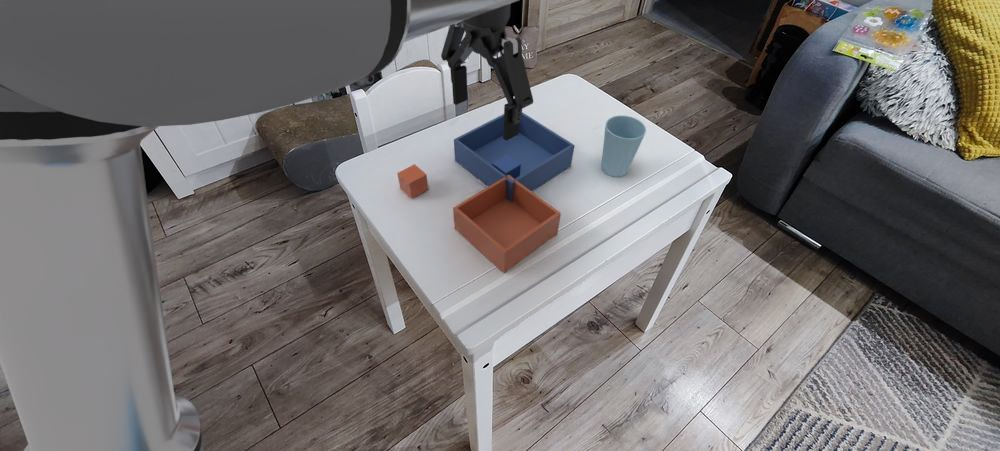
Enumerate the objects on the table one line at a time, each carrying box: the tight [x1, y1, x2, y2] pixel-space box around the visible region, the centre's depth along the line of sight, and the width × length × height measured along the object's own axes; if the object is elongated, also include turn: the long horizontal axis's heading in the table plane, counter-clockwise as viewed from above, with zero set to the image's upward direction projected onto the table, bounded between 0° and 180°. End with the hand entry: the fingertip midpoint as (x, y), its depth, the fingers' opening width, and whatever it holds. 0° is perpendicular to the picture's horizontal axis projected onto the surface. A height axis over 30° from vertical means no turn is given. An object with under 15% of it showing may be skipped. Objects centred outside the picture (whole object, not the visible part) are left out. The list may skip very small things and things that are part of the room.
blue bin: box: [453, 111, 575, 202], centre depth 93 cm, size 17×17×6 cm
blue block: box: [492, 155, 521, 179], centre depth 90 cm, size 4×4×4 cm
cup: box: [600, 115, 647, 178], centre depth 91 cm, size 8×8×10 cm
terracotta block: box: [396, 163, 429, 200], centre depth 88 cm, size 4×4×4 cm
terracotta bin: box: [452, 175, 562, 274], centre depth 80 cm, size 13×13×6 cm
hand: (484, 118), depth 80 cm, fingers open, 13 cm apart
